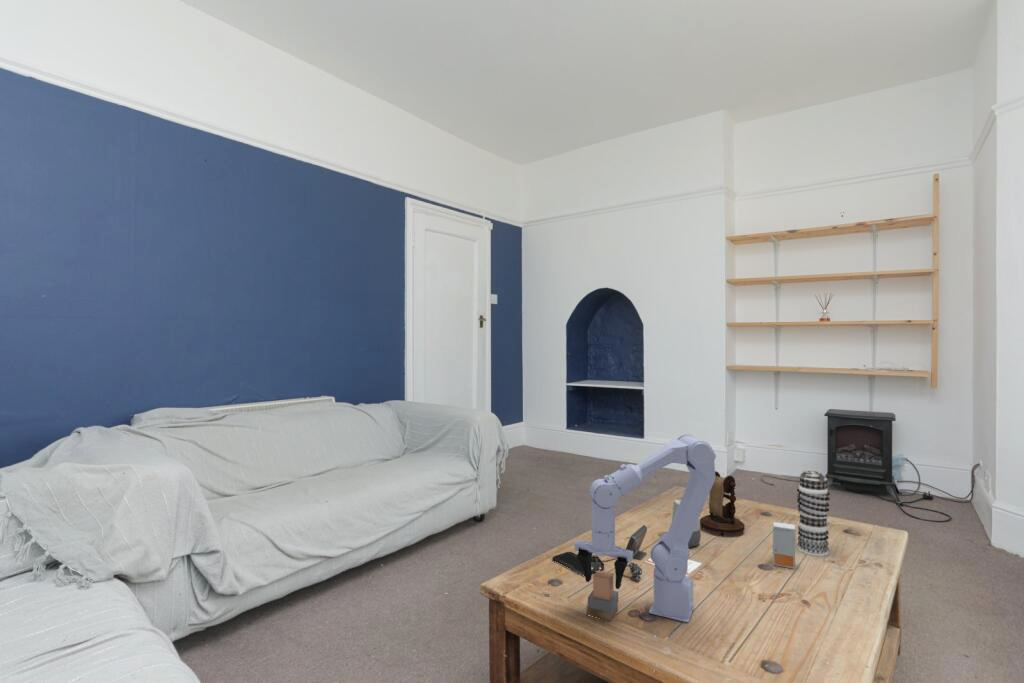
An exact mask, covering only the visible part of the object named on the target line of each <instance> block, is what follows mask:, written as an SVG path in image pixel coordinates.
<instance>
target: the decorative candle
mask: <svg viewBox="0 0 1024 683" xmlns="http://www.w3.org/2000/svg"><path fill="white" fill-rule="evenodd" d="M798 477H799V486H798V487H799V488H797V489H796V492H798V493H797V494H796V497H797V498H796V500H797V501H796V502H797V503H798V504H797V512H798V514H799V521H798V527H797V530H798V531H797V532H798V533H797V535H798V537H797V541H798V542H797V545H798V546H797V547H798V550H799V552H801V553H803V554H806V555H809V556H813V557H814V556H816V557H824V555H825V556H828V555H829V541H828V540H829V535H828V534H829V530H828V519H827V518H829V514H828V512H830V509H829V508H828V507H830V504H829V502H828V501H831V498H830V497H829V496H831V493H830V491H829V490H828V478H827V477H825V475H824V474H823V473H822V472H820V471H815V470H804V471H803V472H801V474H799V475H798Z"/></svg>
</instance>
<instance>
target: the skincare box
mask: <svg viewBox="0 0 1024 683" xmlns="http://www.w3.org/2000/svg"><path fill="white" fill-rule="evenodd" d="M772 524H773V525H772V566H777V567H783V568H788V569H792V570H795V569H796V566H795V565H796V530H797V529H796V524H790V523H784V522H776V521H773V523H772Z"/></svg>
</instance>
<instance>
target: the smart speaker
mask: <svg viewBox="0 0 1024 683" xmlns="http://www.w3.org/2000/svg"><path fill="white" fill-rule="evenodd" d="M680 501H681V499H673V507H672V516H671V521H672V520H673V518H674V516H675V513H676V511H677V509H678V506H679V504H680ZM701 534H702V533H701V525H700V518H699V519H698V521H697V523H696V526H695V528H694V531H693V533H692V535H691V538H690V540H689V542H688V548H693V547H696V546H698V545H699V543H700V541H701Z"/></svg>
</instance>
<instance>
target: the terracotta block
mask: <svg viewBox="0 0 1024 683" xmlns="http://www.w3.org/2000/svg"><path fill="white" fill-rule="evenodd" d="M594 573H595V572H594ZM592 584H593V586H592V587H593V588H592V591H593V597H597V598H601V599H606V600H610V598H611V596H612V595H613V593H614V591H615V590H614V587H615V586H614V572H610V571H605V570H602V571H600V570H598V571H597V572H596V573H595V574H593V576H592Z"/></svg>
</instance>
